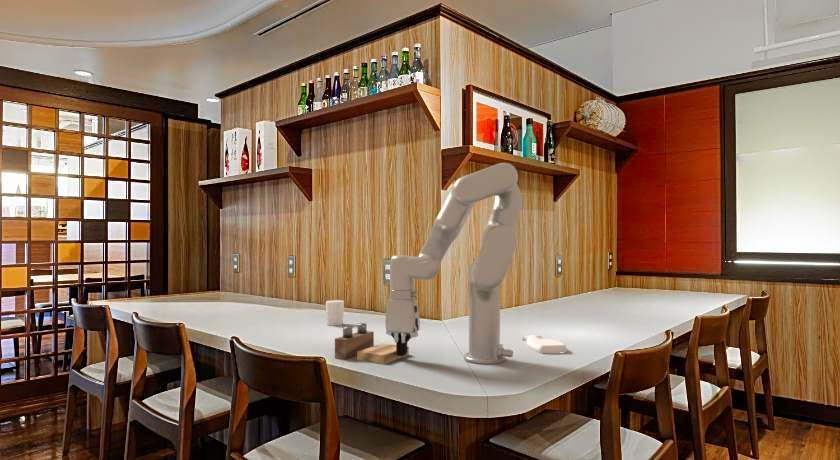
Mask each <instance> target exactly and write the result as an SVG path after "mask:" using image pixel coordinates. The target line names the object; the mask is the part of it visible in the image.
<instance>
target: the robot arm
mask: <svg viewBox="0 0 840 460" xmlns="http://www.w3.org/2000/svg"><path fill="white" fill-rule="evenodd" d="M518 181H519V173H518V170H517V169H516V167H515V166H514V165H513V164H512V163H508V162H500V163H495V164H493V165H491V166H488V167H486V168H483V169H480V170H478V171H474V172H472V173H469V174H467V175H464V176H461V177H459V178H458V179H457V180H456V181H455V182H454V183H453V185H452V187H451V189H450V190H449V193H448V195H447V197H446V198H445V201H444V203H443V205H442V207H441V209H440V210H439V212H438V214H437V216H436V218H435V220H434V222H433V225H432V227H431V230H430V233H429V235H428V237H427V239H426V241H425V243H424V245H423V247H422V249H421V250H420V253H419V255H418V256H412V255H409V254H408V255H407V254H405V255H403V254H399V255H398V254H397V255H392V256H391V257H390V260H389V261H390V262H389V264H390V265H389V269H390V270H389V299H388V300H387V304H386V311H385V330H386V331H385V334H386V335H388V336H389V337H390V336H391V337H392V338H393V339H394V342H395V343H396V344H395V345H396V352H397V356H404V355H406V353H407V347H408V342H409V341H410V340H411V339H414V338H417V337H419V333H418V332H419V331H420V328H421V323H420V322H421V321H420V311H419V305H418V304H419V303H418V299H415V298H418V296H419V294H418V292H415V291H416V290H415V279H417V280H418V279H419V280H426V281H427V280H428V281H429V280H433V279H434V278H436V277H437V275H438V274H439V272H440V265H441V264H442V262H443V259H444V258H445V255H446V253H448V250H449V249H450V247H451V245H452V243H453V242H455V240H456V239H457V237H459V235H460V233H461V231H462V229H463V228H464V225H465V224H466V222H467V219H468V218H469V216H470V213H471V211H472V210H473V208H474V206H475V204H476V203H477V202H480V201H484V200H486V199H488V198H489V199H490V198H492V197H493V198H494V200H493V206H492V210H491V212H490V216H489V218H488V221H487V222H486V226H485V228H484V230H483V233H482V234H481V235H482V236H481V243H482V245H481V247H480V249H479V253H478V256H477V258H475V259H474V260H473V261H472V262H471V263H470V265H469V267H468V271H467V272H468V273H467V282H468V352H466V353H464V354H463V358H464V360H465V361H466V362H469V363H473V364H483V365H487V364H489V365H490V364H498V363H499V364H500V363H504V362H505V361H506V357H507V358H513V356H514V350H512V349H506V348H504V344H501V293H500V292H501V289H500V286H501V285H502V284H503V282H504V280H505V278H506V275H507V273H508V270H509V268H510V265H511V263H512V260H513V258H514V257H513V256H514V254H515V251H516V249H517V243H518V236H517V234H516V233H517V232H516V231H515V230H516V228H517V224H518V220H519V217H520V215H521V210H522V206H523V198H522V191H521V190H520V187H519V185H518V184H517V183H518ZM404 357H405V356H404Z"/></svg>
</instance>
